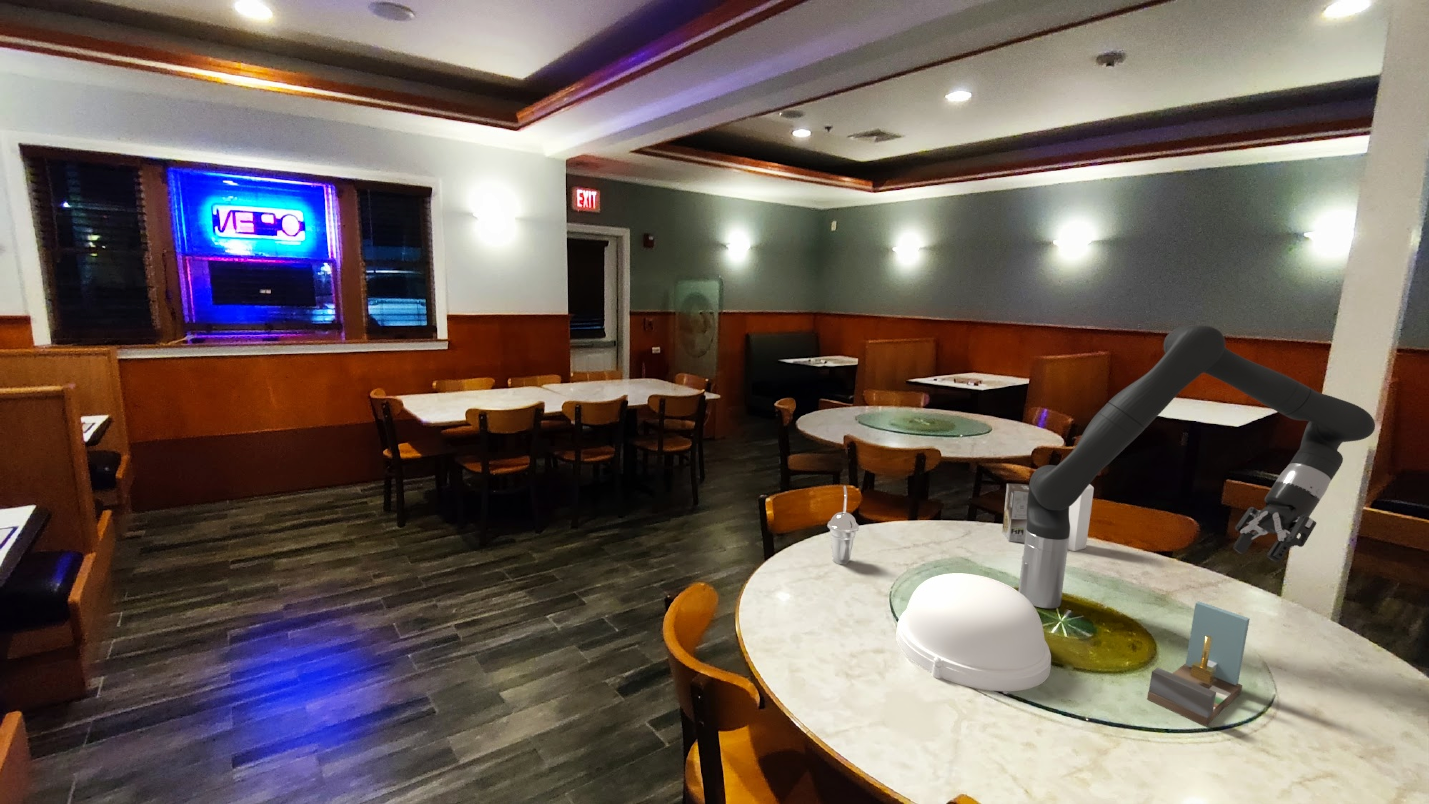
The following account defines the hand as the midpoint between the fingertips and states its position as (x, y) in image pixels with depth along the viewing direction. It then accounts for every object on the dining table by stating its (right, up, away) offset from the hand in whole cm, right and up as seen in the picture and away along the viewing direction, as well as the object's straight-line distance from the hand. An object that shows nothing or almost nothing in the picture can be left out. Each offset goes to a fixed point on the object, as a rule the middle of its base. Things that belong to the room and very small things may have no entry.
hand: (1254, 555), depth 132 cm
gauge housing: (-22, -23, -12) cm, 34 cm away
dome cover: (-58, -20, +2) cm, 61 cm away
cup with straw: (-76, -12, +45) cm, 89 cm away
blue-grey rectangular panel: (-17, -21, -9) cm, 28 cm away
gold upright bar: (-20, -20, -11) cm, 30 cm away
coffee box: (-17, -11, +67) cm, 70 cm away
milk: (-4, -12, +61) cm, 63 cm away
